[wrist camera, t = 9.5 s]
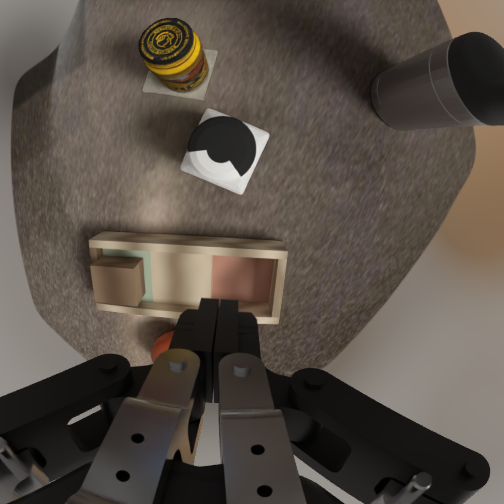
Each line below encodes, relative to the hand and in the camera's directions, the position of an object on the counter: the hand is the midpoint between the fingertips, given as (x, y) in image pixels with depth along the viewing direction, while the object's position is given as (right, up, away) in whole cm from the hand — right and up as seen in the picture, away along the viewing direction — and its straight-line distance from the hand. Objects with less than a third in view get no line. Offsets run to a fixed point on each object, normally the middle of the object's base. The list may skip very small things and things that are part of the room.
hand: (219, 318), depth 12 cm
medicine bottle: (-2, +15, +23) cm, 28 cm away
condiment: (-8, +26, +20) cm, 34 cm away
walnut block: (-16, 0, +25) cm, 29 cm away
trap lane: (-7, 0, +28) cm, 29 cm away
